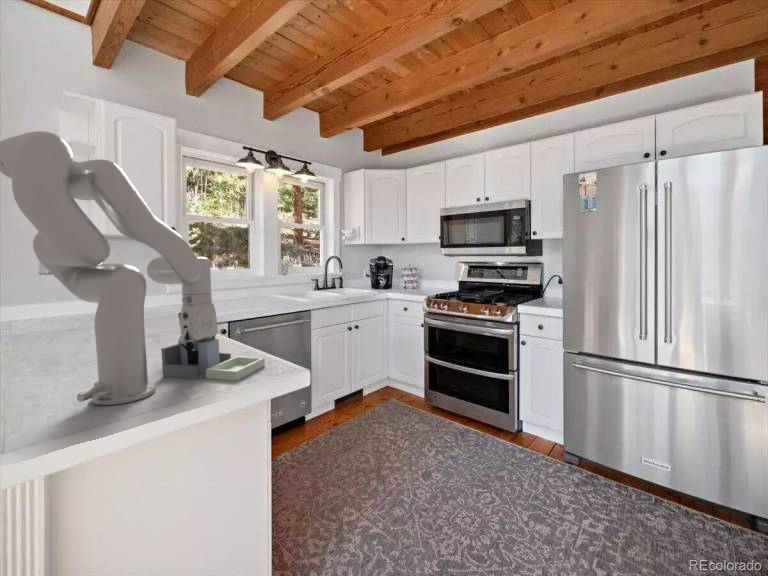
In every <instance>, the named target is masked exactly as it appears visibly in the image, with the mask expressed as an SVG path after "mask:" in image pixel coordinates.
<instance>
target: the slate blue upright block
mask: <svg viewBox="0 0 768 576" xmlns="http://www.w3.org/2000/svg"><path fill="white" fill-rule="evenodd" d="M192 344H193V342H191V345H192ZM196 351H198V362H199V364H197V365H191V364H188V359H187V351H185V348H184V347H183V346H182V345H180V355H181V365H190V366H198V369H199V375H200V374H202V375H206V369H208V368H210V367H212V366H215V365H217V364H220V359H219V353H220V341H219V339H218V338H216V336H215V337H213V338H210V339H207V338H206V339H203V340H199V341H198V342H197V348H196Z"/></svg>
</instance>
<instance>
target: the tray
mask: <svg viewBox="0 0 768 576" xmlns="http://www.w3.org/2000/svg"><path fill="white" fill-rule="evenodd" d="M265 362H266V361H265V357H255V356H239V355H238V356H237V355H236V356H234V357H231V359H229V360H227V361H224V362H222V363H220V364H217V365H215V366H212V367H210V368H208V369H206V374H205V378H206V379H211V380H212V379H213V380H226V381H233V382H234V381H237V382H238V381H239V380H241V379H243V378H245V377H246V376H249V375H251V374H252V373H255V372H256V371H258V370H260V369H262V368H264V367H266V366H265V365H266V363H265Z"/></svg>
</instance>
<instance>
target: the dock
mask: <svg viewBox="0 0 768 576" xmlns="http://www.w3.org/2000/svg"><path fill="white" fill-rule="evenodd" d="M231 358H232V354H231V353H230V352H219V359H220V363H222V362H224V361H227V360H229V359H231ZM161 364H162V365H161V366H162V367H161V368H162V377H163V378H171V379H187V380H199V379H200V376H199V375H200V374H199V369H198V366H190V365H181V355H180V344H179V343H176V344H173V345H169V346H166V347H162V348H161Z"/></svg>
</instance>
